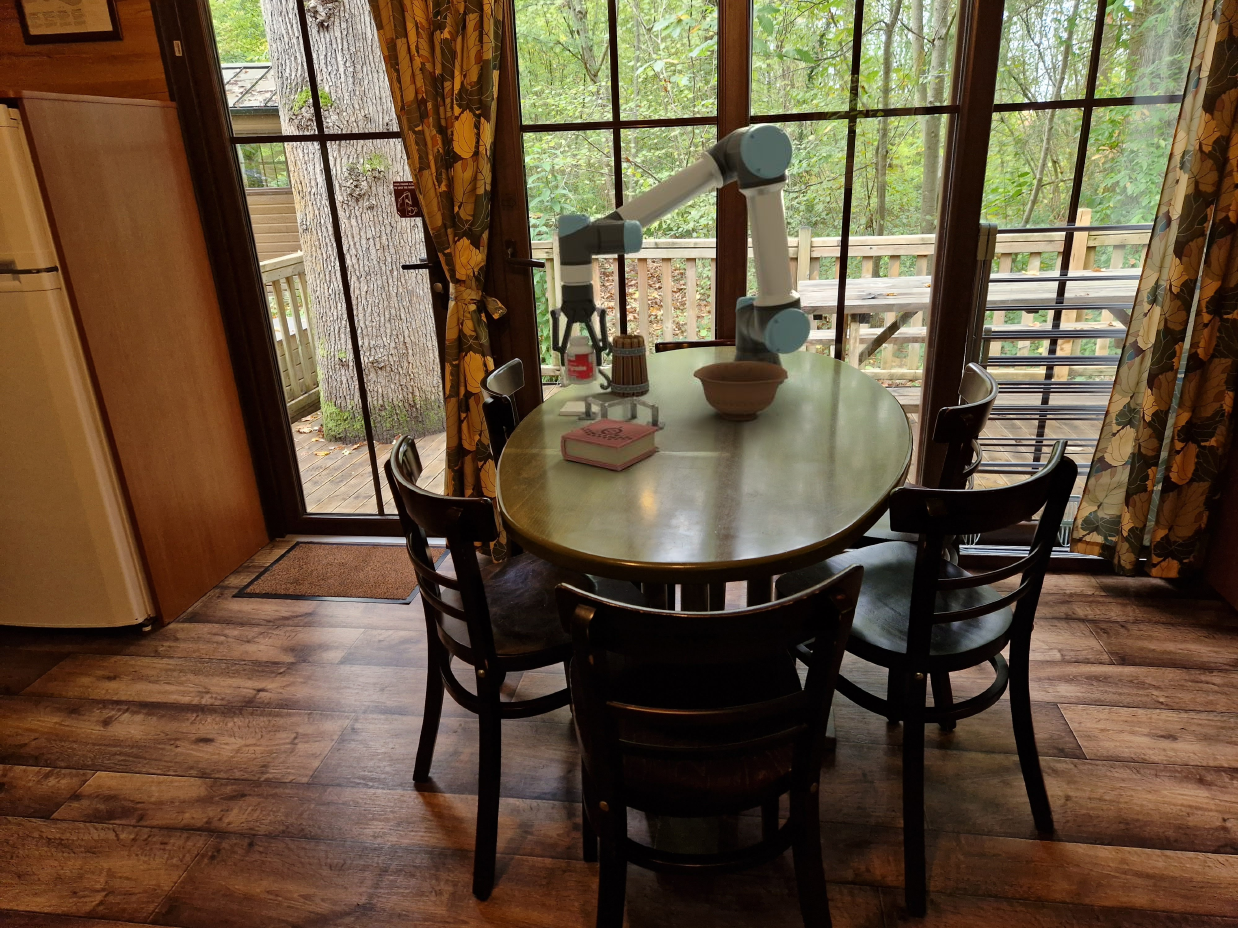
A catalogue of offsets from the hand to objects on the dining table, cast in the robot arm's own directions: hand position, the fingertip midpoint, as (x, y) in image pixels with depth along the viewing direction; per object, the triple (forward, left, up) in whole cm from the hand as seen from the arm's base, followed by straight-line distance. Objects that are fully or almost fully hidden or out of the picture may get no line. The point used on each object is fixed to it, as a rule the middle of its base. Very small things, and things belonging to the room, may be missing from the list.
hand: (582, 379), depth 191 cm
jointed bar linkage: (-11, +8, -8) cm, 16 cm away
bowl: (-38, +2, -9) cm, 39 cm away
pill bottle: (0, +1, -1) cm, 1 cm away
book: (-12, +30, -9) cm, 34 cm away
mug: (-6, -19, -9) cm, 22 cm away
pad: (+1, -1, -8) cm, 8 cm away
